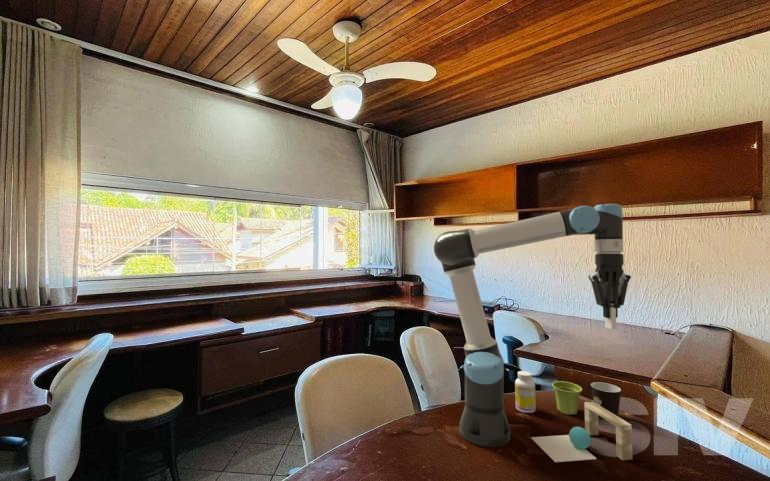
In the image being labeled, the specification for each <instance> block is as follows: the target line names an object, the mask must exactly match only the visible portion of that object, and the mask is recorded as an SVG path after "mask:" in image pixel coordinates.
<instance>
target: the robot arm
mask: <svg viewBox="0 0 770 481" xmlns="http://www.w3.org/2000/svg"><path fill="white" fill-rule="evenodd" d="M623 217H624V216H623V208H622V206H621V204H618V203H603V204H596V205H595V206H594V207H592V206H589V205H580V206H576V207H574V208H570V209H566V210H561V211H558V212H552V213H548V214H542V215H538V216H534V217H531V218H530V217H529V218H525V219H520V220H516V221H511V222H506V223H503V224H497V225H494V226H489V227H484V228H480V229H476V230H475V229H472V228H466V229H458V230H449V231H448V230H447V231H445V232H442V233H441V234H439V235H438V236H437V238H436V239H435V241H434V245H433V251H434V252H433V253H434V256H435V258H436V259H437V260H438V261H439V262H440V263H441V267H442V269H443V273H444V274H445V275H447V276H448V277H449V279H450V283H451V288H452V290H453V291H452V292H453V295H454V298H455V303H456V306H457V307H456V308H457V310H458V314H459V319H460V321H461V326H462V329H463V332H464V336H465V341H466V342H465V344H464V346H463V350H464V354H465V359H464V364H463V371H464V408H463V412H462V415H461V417H460V421H459V434H460V435H461V437H462V438H463V439H464V440H466V442H467V441H468V442H469V443H472V444H474V445H477V446H480V447H487V448H495V447H501V446H505V445H507V444H509V442H510V440H511V428H510V424H509V422H508V418H507V416H506V414H505V403H504V401H505V398H504V396H505V395H504V393H505V392H504V373H505V366H504V365H505V364H504V358H503V355H502V354H501V352H500V349H499V345H498V341H497V340H496V339H494V338H493V337H492V336H491V333H490V328H489V325H488V322H487V317H486V314H485V311H484V307H483V303H482V300H481V296H480V291H479V288H478V285H477V282H476V281H477V280H476V277H475V274H474V273H475V272H474V269H475V268H476V265H477V264H476V261H475V259H476V258H478V256H479V255H481V254H485V253H490V252H494V251H499V250H505V249H510V248H514V247H519V246H524V245H529V244H534V243H539V242H543V241H549V240H555V239H557V238H559V239H560V238H563V237H569V236H581V235H582V236H583V235H590V236H591V235H593V236H594V252H596V254H595V255H594V264H595V265H596V269H595V272H594V273H593V274H589V275H588V276H587V277H588V279H589V281H590V282H591V287H592V290H593V295H594V298H595V301H596V305H597V306H600V307H602V316H603V318H604V326H605V328H606V329H610V330H617V318H618V317H619V316H618V314H619V313H618V312H619V311H618V309H620V308H621V306H624V304H625V301H626V296H627V295H626V294H627V290H628V284H629V283H630V280H631V278H632V276H631V275H629V274H626V272H624V269H623V266H624V263H625V260H624V254H623V252H624V237H623V236H624V227H623V226H624V225H623V224H624V218H623Z"/></svg>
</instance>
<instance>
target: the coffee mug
mask: <svg viewBox="0 0 770 481" xmlns="http://www.w3.org/2000/svg"><path fill="white" fill-rule="evenodd" d="M589 387H590V388H591V392H590V389H589ZM586 390H587V393H588V395H589V396H590V398H591V399H592V402H595V403H596V404H598V405H600V406H601V407H603V408H605V409H606V410H608V411H609V412H611V413H613V414H614V415H616V416H618V417H619V411H620V402H621V393H622V389H621V388H620V387H619V386H617V385H615V384H611V383H607V382H600V381H599V382H597V381H596V382H595V381H594V382H591V383H588V384H586ZM598 419H600V420H603V421H605V422H606V421H607V420H605V419H604V418H602V417H601V416H599V415H598ZM607 422H608V421H607Z"/></svg>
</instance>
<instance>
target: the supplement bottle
mask: <svg viewBox="0 0 770 481" xmlns="http://www.w3.org/2000/svg"><path fill="white" fill-rule="evenodd" d="M532 378H533V375H532V373H531V372H529V371H526V370H519V371H517V378H516V379H515V381H514V391H515V392H514V394H515V396H514V397H515V398H514V399H515V401H514V402H515V409H516V410H517V411H519V412H520V413H521V412H522V413H523V414H524V413H526V414H531V413H534V412H536V383H535V382H534V380H532Z"/></svg>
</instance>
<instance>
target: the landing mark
mask: <svg viewBox="0 0 770 481" xmlns="http://www.w3.org/2000/svg"><path fill="white" fill-rule="evenodd" d="M530 439H531V440H532V441H533V442H535V444H536V445H537V446H539V448H540V449H541V450H542V451H543V452H544V453H545V454H546V455H547V456H549V458H551V460H553V462H554V463H562V462H563V463H565V462H578V461H590V460H597V459H598V458H596V456H595V455H593V454H592V453H590V451H588V450H587V448H585V449H580V448H578V447H576V446H574V445H573V444H572V442H571V441H570V438H569V434H562V435H548V436H546V435H545V436H532V437H530Z"/></svg>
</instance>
